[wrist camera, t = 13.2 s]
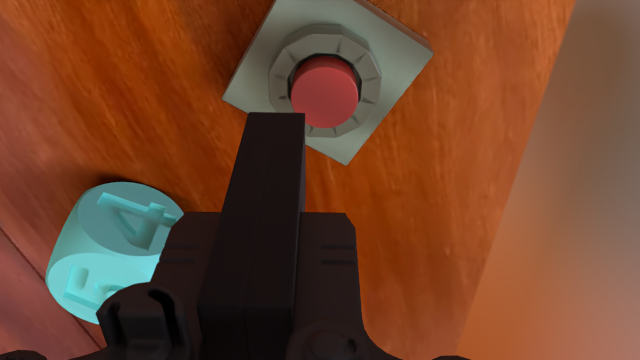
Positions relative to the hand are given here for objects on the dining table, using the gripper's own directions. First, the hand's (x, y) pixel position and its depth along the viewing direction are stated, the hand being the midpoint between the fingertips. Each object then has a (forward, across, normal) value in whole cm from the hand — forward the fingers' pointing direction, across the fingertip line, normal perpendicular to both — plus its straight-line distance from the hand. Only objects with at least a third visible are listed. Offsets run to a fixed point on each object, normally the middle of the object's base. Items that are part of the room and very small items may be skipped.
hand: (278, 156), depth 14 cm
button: (+17, +1, -6) cm, 18 cm away
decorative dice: (+21, -14, -20) cm, 32 cm away
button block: (+20, +1, -6) cm, 21 cm away
